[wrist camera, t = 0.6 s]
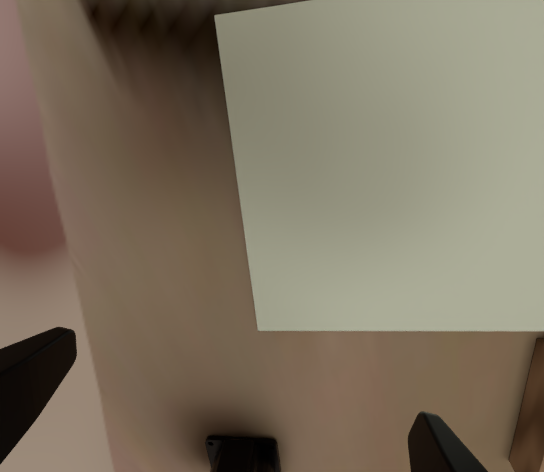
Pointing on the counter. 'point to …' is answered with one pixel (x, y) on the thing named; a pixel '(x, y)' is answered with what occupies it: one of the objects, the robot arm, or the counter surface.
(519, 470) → the walnut block
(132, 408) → the counter surface
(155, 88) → the counter surface
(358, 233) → the sage mat
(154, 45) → the counter surface
